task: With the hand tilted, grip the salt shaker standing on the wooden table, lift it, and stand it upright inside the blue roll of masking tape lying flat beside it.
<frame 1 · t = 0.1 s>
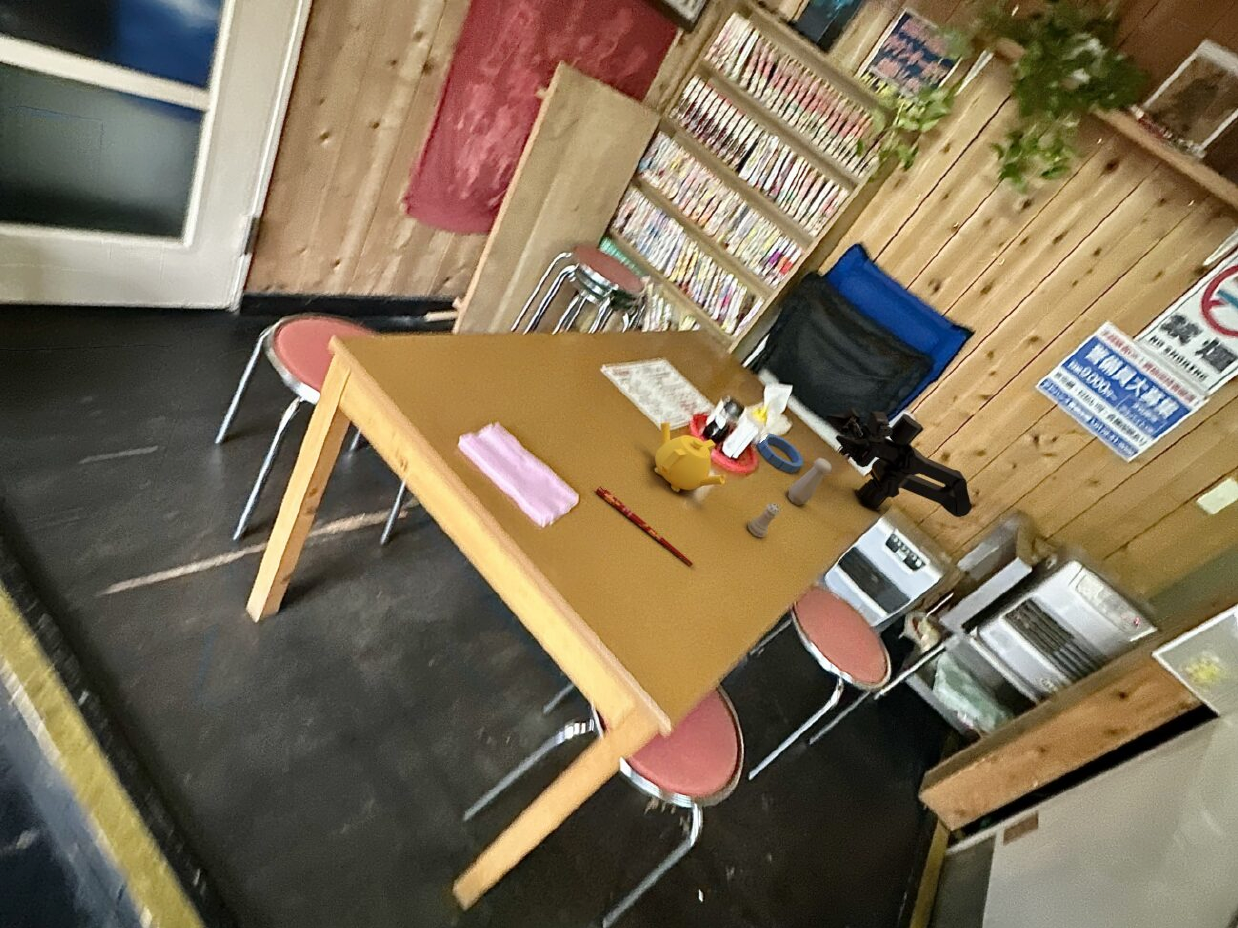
hand: (831, 426, 191), 17 cm above the table, tool horizontal, fingers open, 9 cm apart
teapot: (673, 478, 168), on the table
salt shaker: (794, 500, 188), on the table
rook chess piece: (754, 531, 168), on the table
chopstick: (643, 528, 148), on the table
tape roll: (777, 456, 202), on the table
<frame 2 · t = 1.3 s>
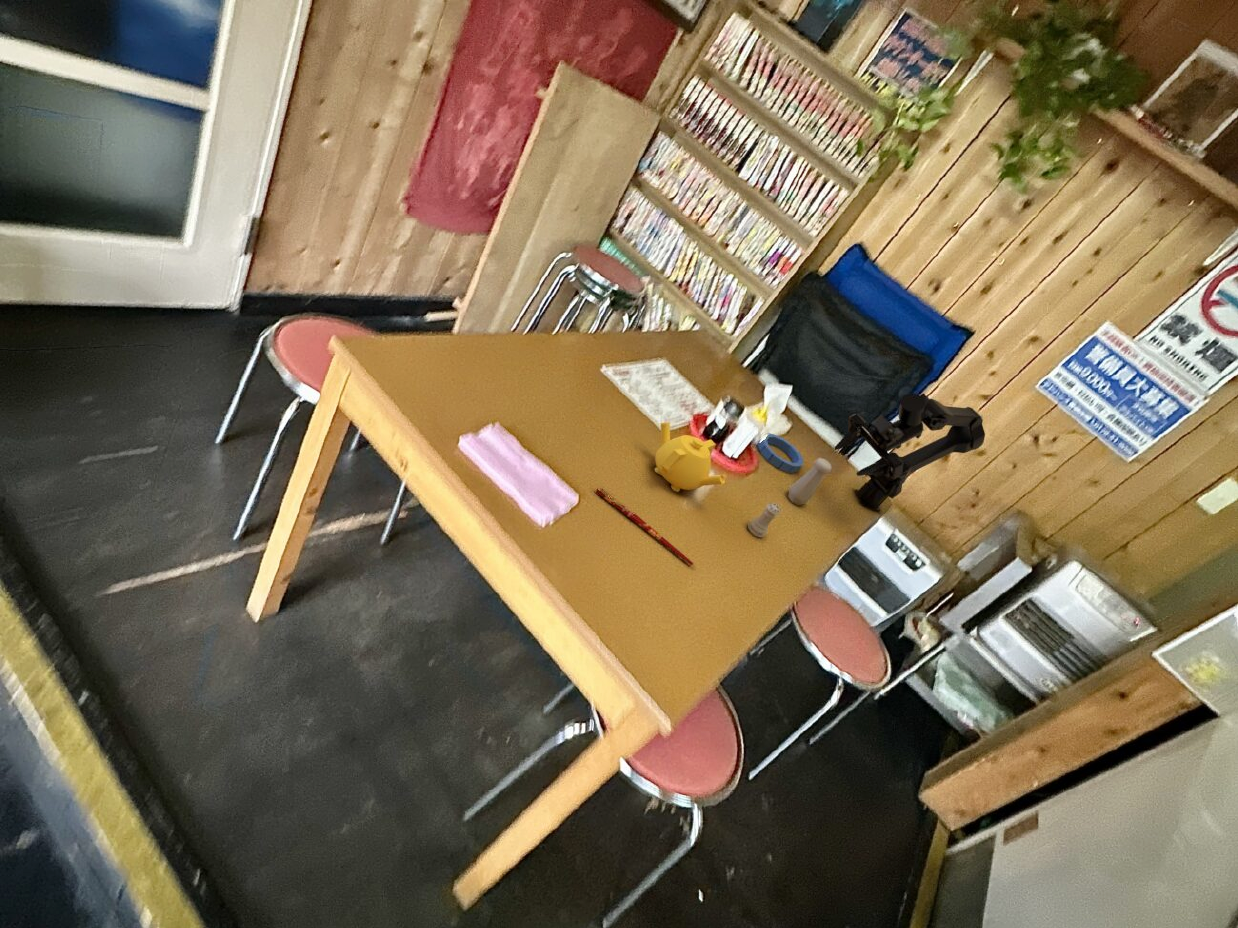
hand: (845, 461, 186), 14 cm above the table, tool tilted 45°, fingers open, 9 cm apart
nothing on the table moved.
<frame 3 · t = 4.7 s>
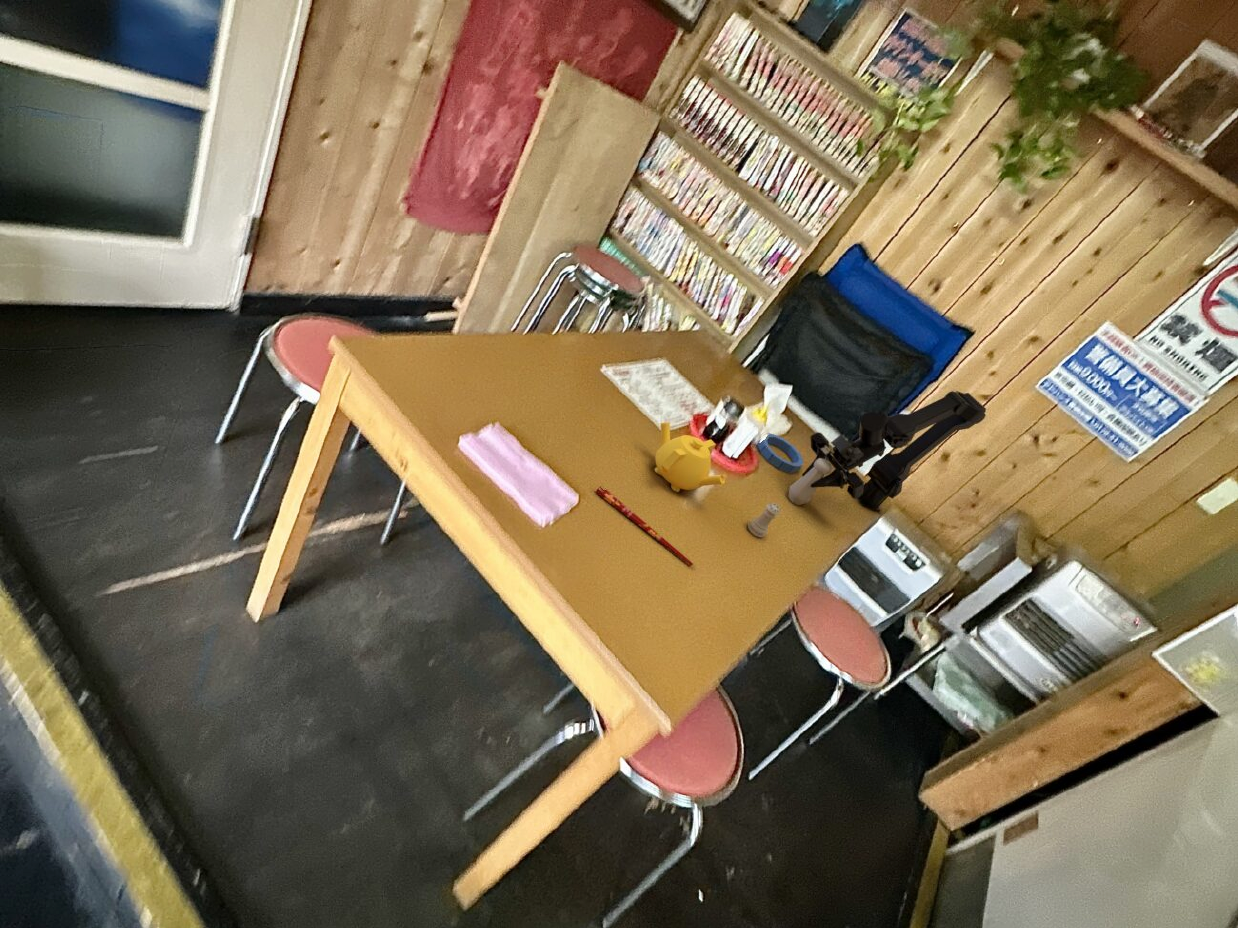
hand: (806, 480, 184), 7 cm above the table, tool tilted 45°, fingers closed on salt shaker, 3 cm apart
salt shaker: (794, 500, 188), on the table, touching gripper
everything else where it was.
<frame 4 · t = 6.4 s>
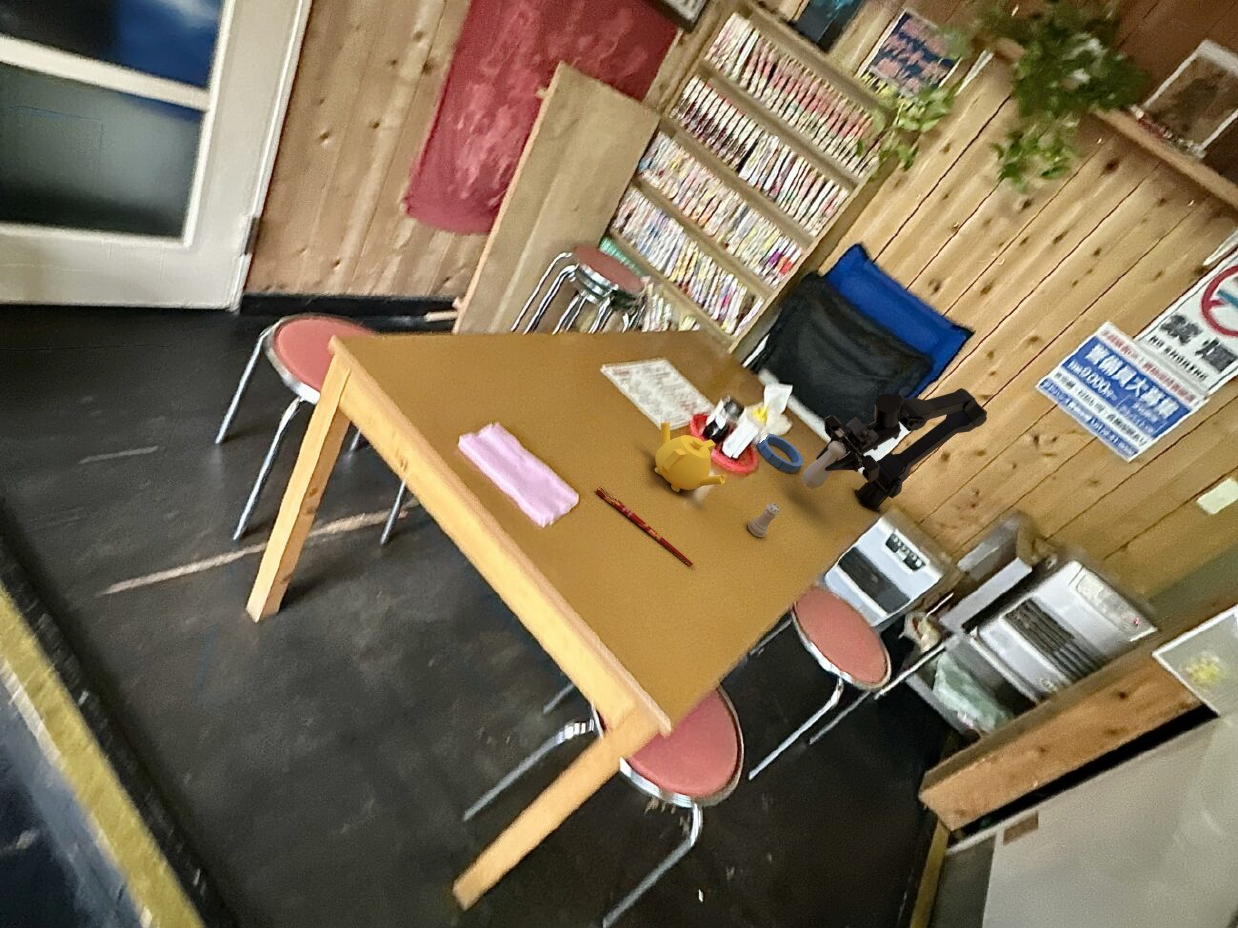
hand: (820, 464, 181), 12 cm above the table, tool tilted 45°, fingers closed on salt shaker, 3 cm apart
salt shaker: (808, 484, 186), point 5 cm above the table, touching gripper
everything else where it was.
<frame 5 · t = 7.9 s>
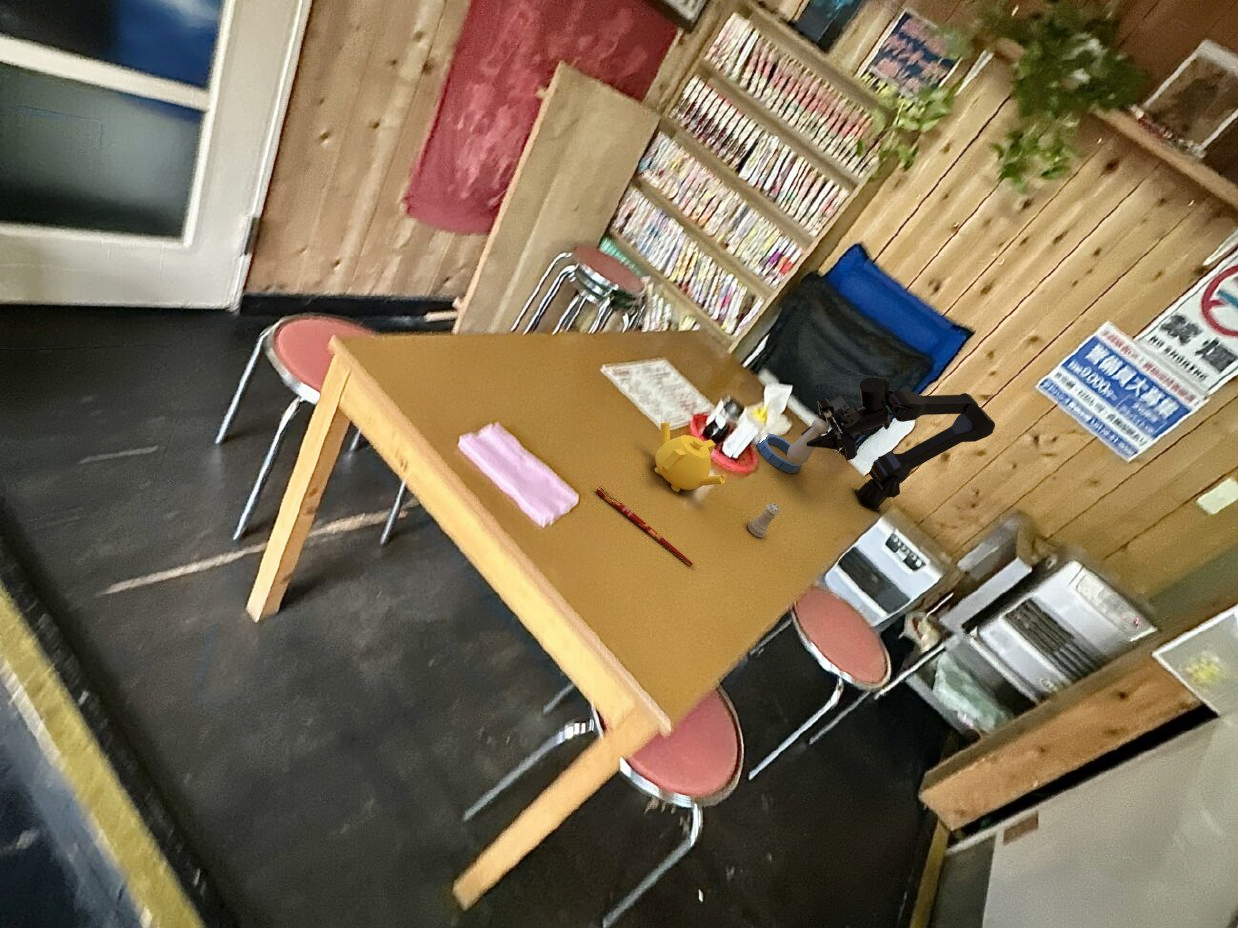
hand: (804, 439, 189), 12 cm above the table, tool tilted 45°, fingers closed on salt shaker, 3 cm apart
salt shaker: (793, 460, 193), point 5 cm above the table, touching gripper
everything else where it was.
when the fingers open (7 cm above the table, at t = 11.1 s): salt shaker stays where it is, resting in tape roll.
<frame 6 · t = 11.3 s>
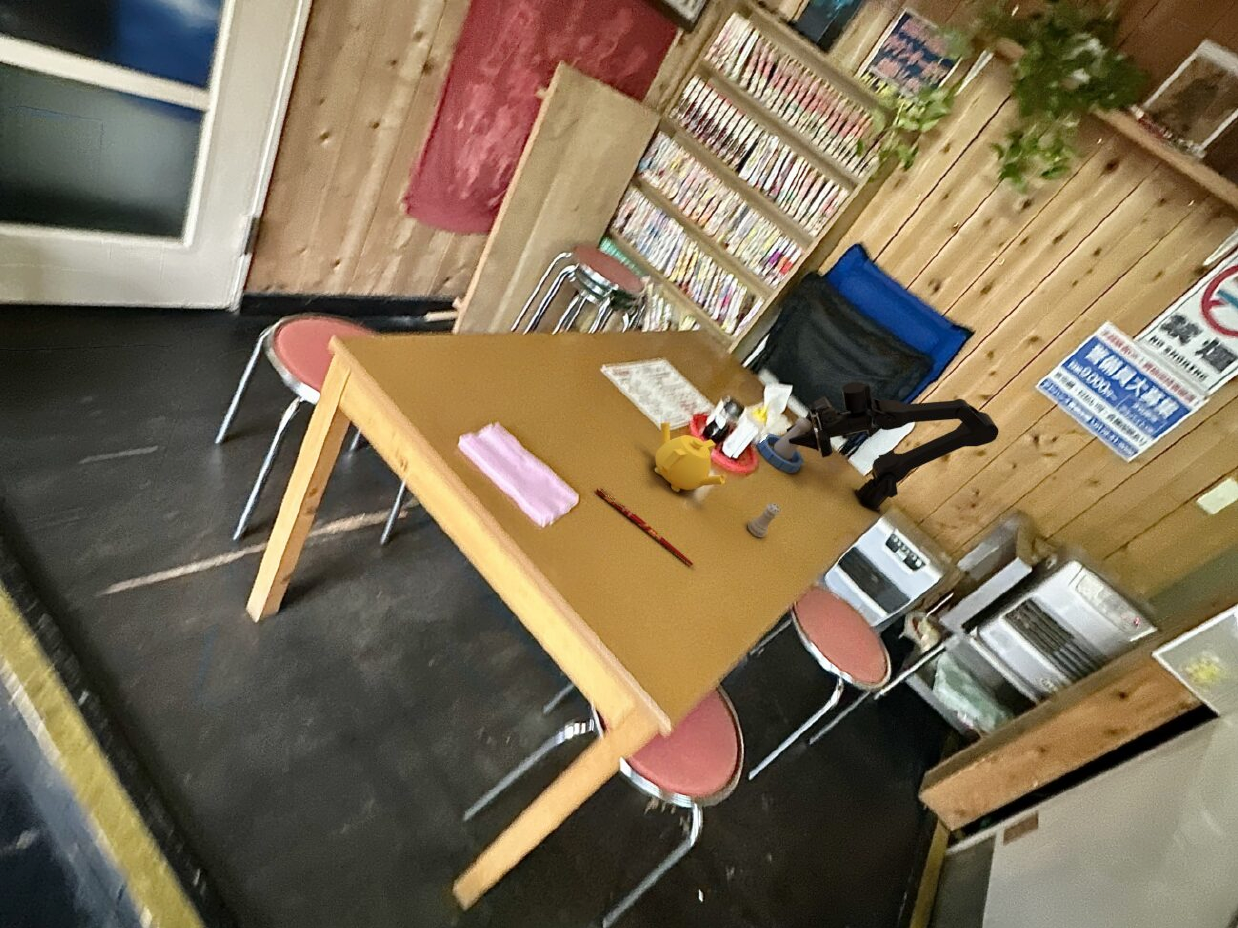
hand: (787, 436, 199), 7 cm above the table, tool tilted 45°, fingers open, 5 cm apart
salt shaker: (778, 457, 203), resting in tape roll
everything else where it was.
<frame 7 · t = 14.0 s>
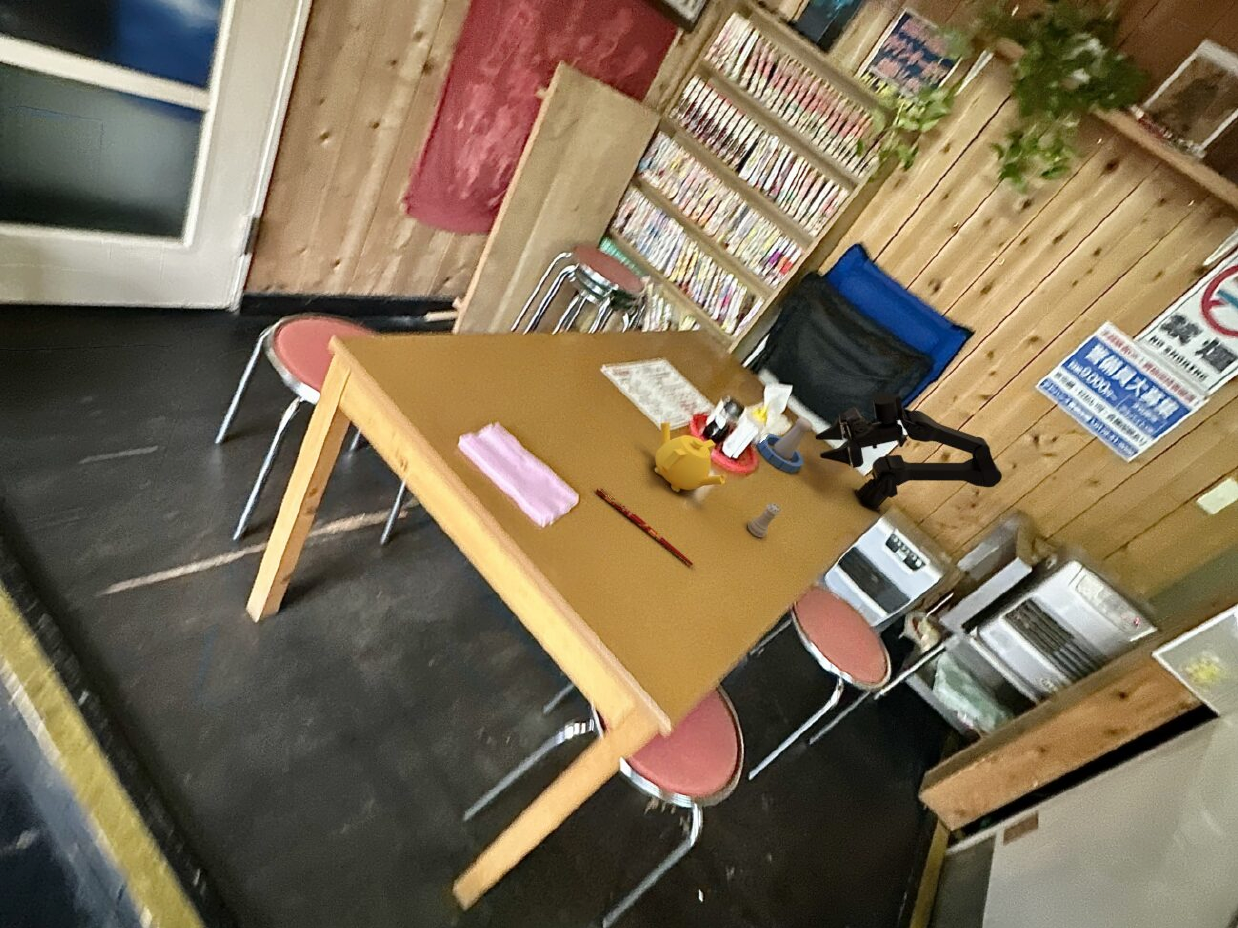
hand: (817, 446, 200), 8 cm above the table, tool tilted 45°, fingers open, 9 cm apart
nothing on the table moved.
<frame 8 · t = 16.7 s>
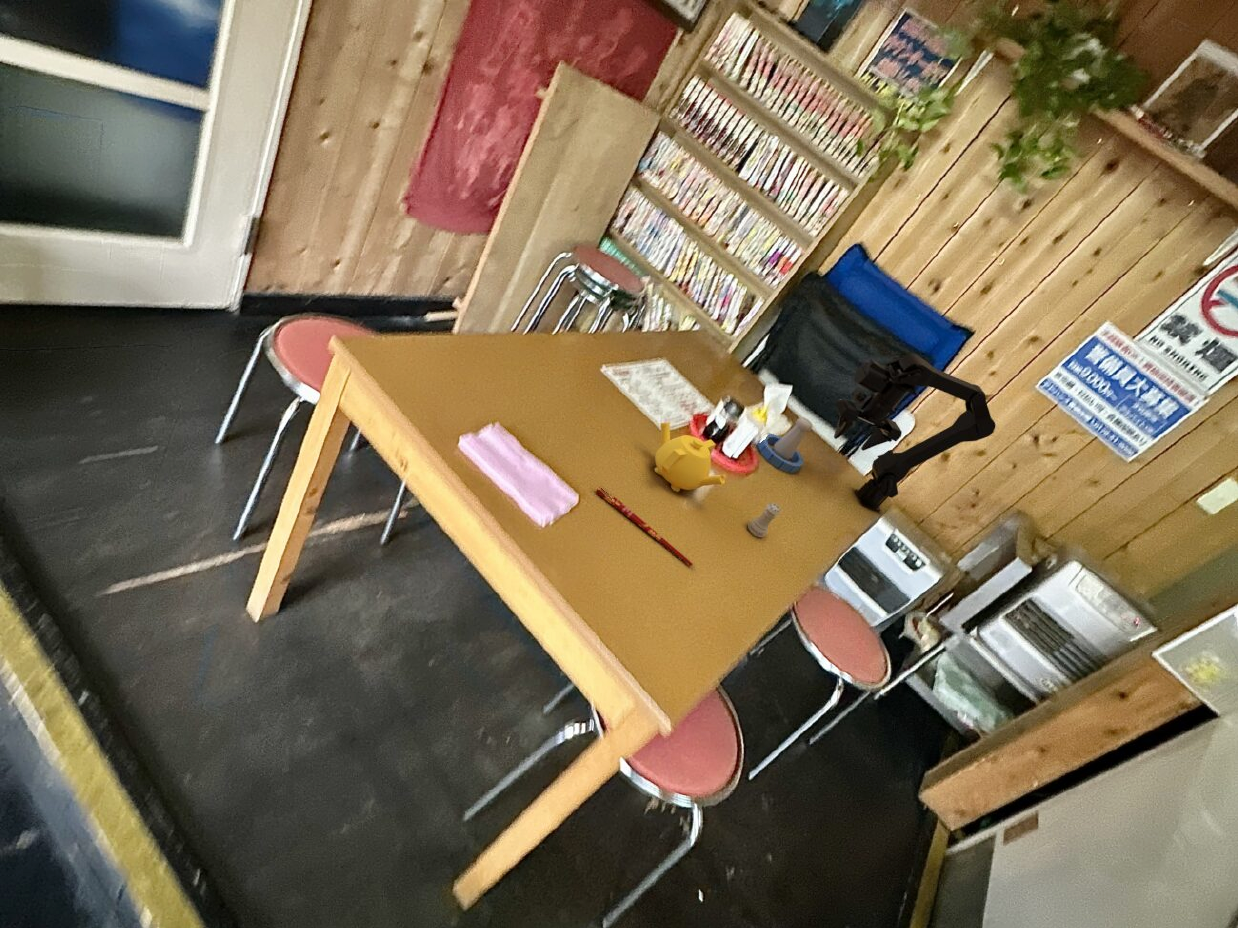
hand: (848, 443, 198), 13 cm above the table, tool pointing down, fingers open, 9 cm apart
nothing on the table moved.
at the end: salt shaker 0.2 cm off-centre on the tape roll, point 0.0 cm above the tape roll's base; salt shaker tilted 0°; the gripper is holding nothing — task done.
